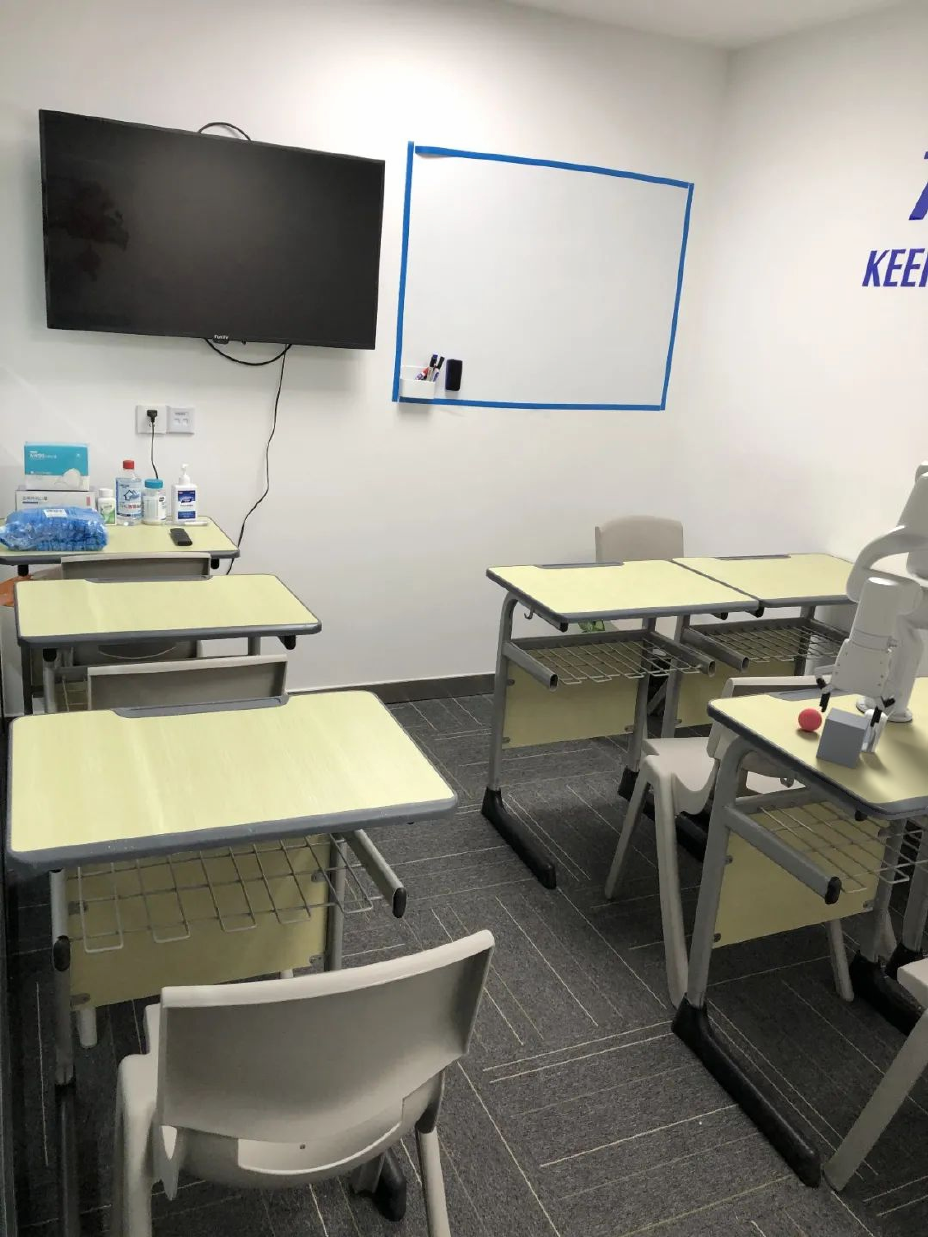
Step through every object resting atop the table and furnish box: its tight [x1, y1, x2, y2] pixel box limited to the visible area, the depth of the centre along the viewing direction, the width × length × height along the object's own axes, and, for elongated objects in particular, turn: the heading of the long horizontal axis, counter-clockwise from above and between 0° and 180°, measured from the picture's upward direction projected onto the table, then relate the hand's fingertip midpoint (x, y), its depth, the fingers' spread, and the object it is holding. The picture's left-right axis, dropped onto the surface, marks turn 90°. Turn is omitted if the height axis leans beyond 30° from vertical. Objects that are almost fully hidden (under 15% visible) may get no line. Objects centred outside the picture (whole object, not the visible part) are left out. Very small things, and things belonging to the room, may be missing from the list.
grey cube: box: [815, 707, 870, 770], centre depth 193 cm, size 8×8×9 cm
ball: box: [797, 707, 823, 732], centre depth 206 cm, size 5×5×5 cm
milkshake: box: [861, 709, 894, 754], centre depth 198 cm, size 4×5×10 cm
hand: (847, 717), depth 191 cm, fingers open, 9 cm apart
